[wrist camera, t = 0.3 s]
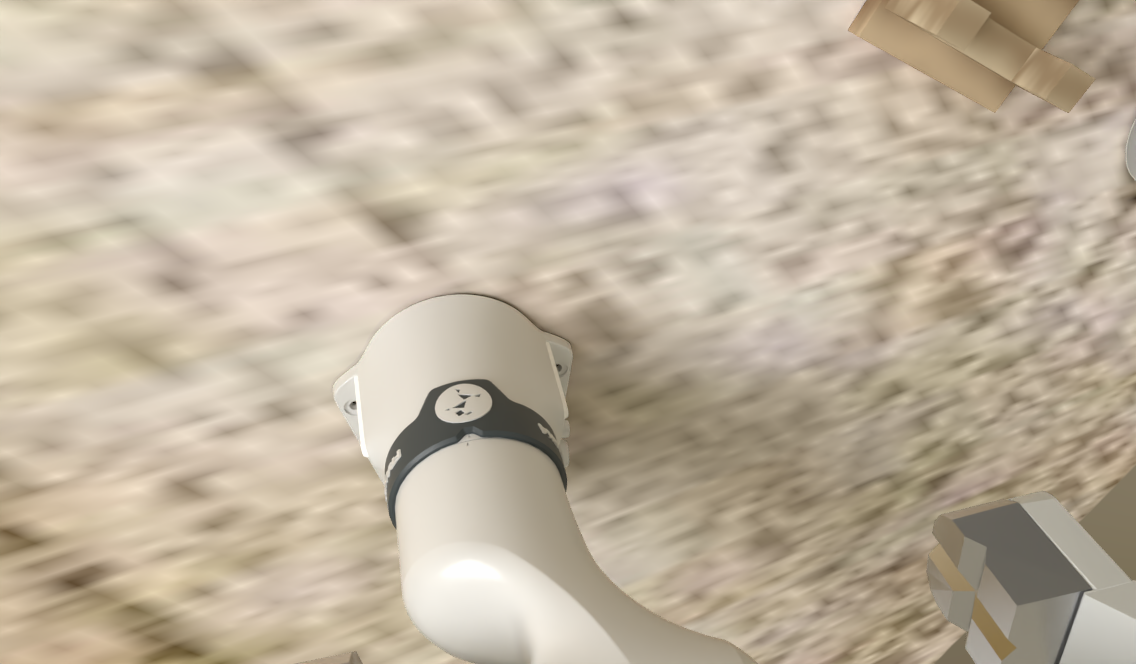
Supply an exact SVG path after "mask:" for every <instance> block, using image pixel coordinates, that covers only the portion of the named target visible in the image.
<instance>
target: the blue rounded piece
mask: <svg viewBox="0 0 1136 664" xmlns="http://www.w3.org/2000/svg"><path fill="white" fill-rule="evenodd" d="M1125 159H1126V165H1127V168H1128V171H1129V173H1130V175H1131V176H1132V177H1133V178H1134V180H1135V181H1136V119H1135V120H1134V122H1133V125H1132V127H1131V130H1130V133H1129V135H1128V140H1127V144H1126V153H1125Z"/></svg>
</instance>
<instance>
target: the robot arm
mask: <svg viewBox="0 0 1136 664" xmlns="http://www.w3.org/2000/svg"><path fill="white" fill-rule="evenodd" d="M572 360H573V353H572V348H571V345H570V343H569V342H568V341H566V340H565V339H563V338H560V337H558V336H555V335H553V334H550V333H547V332H543V331H541V330H540V329H538V328H537V327H536V326H535V325H533V324H532V323H531V322H530V321H529V320H528V319H527V318H526V317H525V316H524V315H523V314H522V313H520V312H519V311H518V310H516V309H515V308H513V307H511V306H509V305H507V304H505V303H503V302H501V301H498V300H495V299H492V298H488V297H484V296H478V295H466V294H457V295H446V296H440V297H435V298H431V299H428V300H425V301H422V302H419V303H416V304H414V305H412V306H410V307H408V308H406V309H404V310H402V311H401V312H399V313H398V314H396V315H395V316H393V317H392V318H391V319H390V320H388V321H387V322H386V323H385V324H384V325H383V326H382V327H381V328H380V329H379V330H378V331H377V332H376V334H375V335H374V336H373V338H372V339H371V341H370V343H369V344H368V346H367V348H366V350H365V352H364V354H363V356H362V357H361V359H360V360H359V362H358V363H357V364H356V365H355V366H353V367H352V368H351V369H349V370H348V371H347V372H345V373H344V374H343V375H342V376H341V377H340V378H339V379H338V380H337V381H336V382H335V383H334V385H333V395H334V400H335V402H336V404H337V406H338V407H339V409H340V411H341V412H342V414H343V416H344V418H345V419H346V421H347V423H348V424H349V426H350V428H351V430H352V431H353V433H354V435H355V436H356V438H357V440H358V442H359V443H360V445H361V450H362V453H363V456H364V457H368V459H369V461H370V462H371V464H372V466H373V467H374V469H375V471H376V473H377V474H378V476H379V478H380V479H381V481H382V483H383V485H384V491H385V499H386V501H387V507H388V510H389V515H390V518H391V521H392V523H393V525H394V527H395V528H396V530H397V540H398V552H399V563H400V575H401V586H402V598H403V602H404V606H405V608H406V611H407V613H408V616H409V617H410V619H411V621H412V622H413V624H414V625H415V627H416V628H417V629H418V630H419V632H420V633H421V634H422V635H423V636H425V637H426V638H427V639H428V640H429V641H431V642H432V643H433V644H435V645H436V646H437V647H439V648H440V649H442V650H443V651H445V652H446V653H448V654H450V655H452V656H453V657H456V658H458V659H461V660H464V661H467V662H471V663H475V664H758V663H757V662H756V661H755V660H754V659H753V658H752V657H750V656H749V655H748V654H746V653H745V652H744V651H742V650H741V649H740V648H738V647H736V646H735V645H733V644H731V643H730V642H728V641H726V640H723V639H719V638H715V637H711V636H707V635H704V634H701V633H698V632H695V631H692V630H689V629H686V628H684V627H681V626H679V625H677V624H675V623H672V622H670V621H668V620H666V619H664V618H662V617H661V616H659V615H657V614H655V613H653V612H651V611H650V610H648V609H647V608H645V607H644V606H642V605H641V604H639V603H638V602H636V601H635V600H634V599H632V598H631V597H630V596H628V595H627V594H626V593H625V592H623V591H622V590H621V589H620V588H619V587H618V586H616V585H615V584H614V583H613V582H612V581H611V580H610V579H609V578H608V577H607V576H606V574H605V573H604V572H603V571H602V570H601V569H600V568H599V566H598V565H597V563H596V562H595V561H594V559H593V557H592V556H591V554H590V552H589V550H588V548H587V546H586V543H585V541H584V539H583V537H582V534H581V532H580V530H579V527H578V525H577V522H576V520H575V517H574V515H573V512H572V509H571V507H570V504H569V501H568V498H567V495H566V489H567V476H566V472H565V468H566V467H568V465H569V448H568V444H567V442H566V440H563V439H561V438H568V437H569V435H570V426H569V422H568V420H565V419H566V418H567V417H568V407H567V403H566V400H565V399H566V394H567V388H568V382H569V377H570V371H571V366H572ZM556 364H559V366H557V367H556ZM354 401H356V403H357V404H352V403H351V402H354ZM932 534H933V535H934V536H935V538H936V539H937V541H938V542H939V544H938V545H937V546H936V547H935V548H934V549H933V550H932V551H931V552H930V553H929V555H928V563H927V576H928V580H929V585H930V589H931V592H932V594H933V596H934V598H935V601H936V603H937V605H938V607H939V608H940V610H941V611H942V613H943V614H944V616H945V618H946V619H947V620H948V621H949V622H951V623H953V624H955V625H956V626H958V627H960V628H962V629H964V630H965V631H967V635H966V645H965V648H966V650H967V651H968V653H969V654H970V656H971V657H972V659H973V660H974V662H975V663H976V664H1136V580H1131V579H1130V578H1129V577H1128V576H1127V575H1126V574H1125V573H1124V571H1123V570H1122V569H1121V568H1120V567H1119V566H1118V565H1117V564H1116V563H1115V562H1114V561H1113V560H1112V559H1111V557H1110V556H1109V555H1108V554H1107V553H1106V552H1105V551H1104V550H1103V549H1102V548H1101V547H1100V546H1099V545H1098V543H1097V542H1095V540H1094V539H1093V538H1092V537H1091V536H1090V535H1089V534H1088V533H1087V532H1086V531H1085V530H1084V528H1083V527H1082V526H1081V525H1080V524H1079V523H1078V522H1077V521H1076V520H1075V519H1074V518H1073V516H1072V515H1071V514H1070V513H1069V512H1068V511H1067V510H1066V509H1065V508H1064V507H1063V506H1062V505H1061V504H1060V502H1059V501H1058V500H1057V499H1056V498H1055V497H1054V496H1053V495H1051V494H1049V493H1047V492H1045V491H1040V492H1035V493H1030V494H1026V495H1022V496H1018V497H1014V498H1010V499H1007V500H1006V499H1001V500H997V501H993V502H989V503H985V504H981V505H977V506H973V507H969V508H965V509H961V510H957V511H953V512H949V513H945V514H941V515H940V516H939V517H938V518H937V519H936V520H935V522H934V527H933V532H932ZM296 664H363V663H362V661H361V659H360V657H359V656H358V654H357V652H356V651H354V652H349V653H344V654H339V655H335V656H330V657H325V658H320V659H315V660H311V661H306V662H301V663H296Z"/></svg>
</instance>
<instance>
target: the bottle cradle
mask: <svg viewBox="0 0 1136 664" xmlns="http://www.w3.org/2000/svg"><path fill="white" fill-rule="evenodd" d="M1078 1H1079V0H867V1H866V2H865V4H864V5H863V7H862V9H861V10H860V12H859V13H858V15H857V16H856V18H855V20H854V21H853V23H852V24H851V26H850V28H849V29H848V31H850V32H852V33H853V34H855V35H857V36H858V37H860V38H862V39H864V40H865V41H867V42H869V43H871V44H872V45H874V46H876V47H878V48H880V49H881V50H883V51H885V52H887V53H889V54H890V55H892V56H894V57H896V58H897V59H899V60H901V61H903V62H905V63H906V64H908V65H910V66H912V67H914V68H915V69H917V70H919V71H921V72H923V73H924V74H926V75H928V76H930V77H931V78H933V79H935V80H937V81H939V82H940V83H942V84H944V85H946V86H948V87H949V88H951V89H953V90H955V91H957V92H958V93H960V94H962V95H964V96H965V97H967V98H969V99H971V100H973V101H974V102H976V103H978V104H980V105H982V106H983V107H985V108H987V109H989V110H990V111H992V112H994V113H995V112H996V111H997V109H998V108H999V107H1000V105H1001V104H1002V103H1003V101H1004V100H1005V99H1006V97H1007V96H1008V95H1009V93H1010V92H1011V91H1012V89H1013V88H1014V87H1015V85H1016V86H1018V87H1020V88H1022V89H1024V90H1026V91H1028V92H1030V93H1032V94H1033V95H1035V96H1037V97H1039V98H1041V99H1043V100H1045V101H1047V102H1048V103H1050V104H1052V105H1054V106H1056V107H1058V108H1060V109H1062V110H1063V111H1065V112H1067V113H1069V112H1070V111H1071V109H1072V108H1073V107H1074V106H1075V104H1076V103H1077V102H1078V101H1079V99H1080V98H1081V97H1082V96H1083V94H1084V93H1085V92H1086V91H1087V89H1088V88H1089V87H1090V85H1091V84H1092V83H1093V82H1094V80H1095V78H1093V77H1091V76H1090V75H1088V74H1087V73H1085V72H1084V71H1082V70H1080V69H1079V68H1077V67H1076V66H1074V65H1073V64H1071V63H1068V62H1066V61H1064V60H1062V59H1060V58H1058V57H1055V56H1053V55H1051V54H1049V53H1047V52H1045V51H1043V50H1042V49H1043V48H1044V46H1045V45H1046V44H1047V42H1048V41H1049V40H1050V38H1051V37H1052V36H1053V34H1054V33H1055V32H1056V30H1057V29H1058V28H1059V26H1060V25H1061V24H1062V22H1063V21H1064V20H1065V18H1066V17H1067V16H1068V14H1069V13H1070V12H1071V10H1072V9H1073V8H1074V6H1075V5H1076V4H1077V2H1078Z"/></svg>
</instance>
